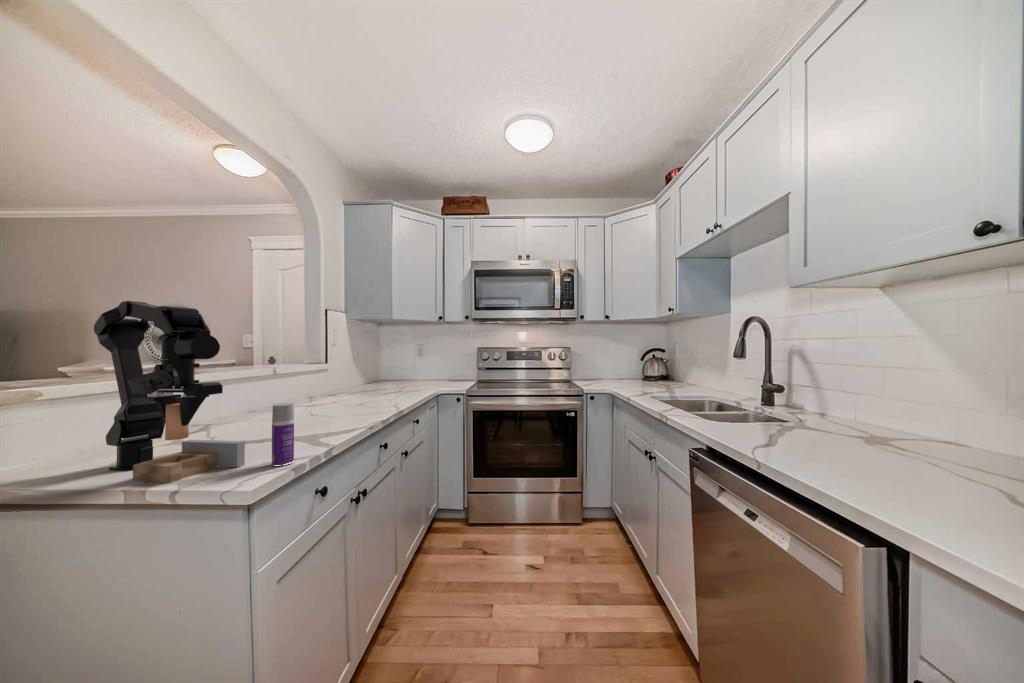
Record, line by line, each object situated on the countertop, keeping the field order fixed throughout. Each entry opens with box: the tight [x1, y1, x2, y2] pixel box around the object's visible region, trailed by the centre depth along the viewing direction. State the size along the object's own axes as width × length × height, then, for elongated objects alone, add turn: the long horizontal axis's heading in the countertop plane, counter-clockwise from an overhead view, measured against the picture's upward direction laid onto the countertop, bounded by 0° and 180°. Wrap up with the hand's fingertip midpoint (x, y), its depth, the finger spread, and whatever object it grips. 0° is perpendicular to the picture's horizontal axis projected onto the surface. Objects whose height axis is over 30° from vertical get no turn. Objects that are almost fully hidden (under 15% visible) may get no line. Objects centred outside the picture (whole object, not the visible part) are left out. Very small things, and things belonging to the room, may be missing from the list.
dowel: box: [164, 403, 190, 441], centre depth 82 cm, size 4×4×8 cm
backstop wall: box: [181, 439, 246, 468], centre depth 87 cm, size 16×2×6 cm, turn 82°
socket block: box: [132, 451, 217, 483], centre depth 81 cm, size 10×10×4 cm
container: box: [271, 402, 295, 466], centre depth 88 cm, size 5×5×15 cm
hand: (177, 425), depth 82 cm, fingers closed on dowel, 4 cm apart
